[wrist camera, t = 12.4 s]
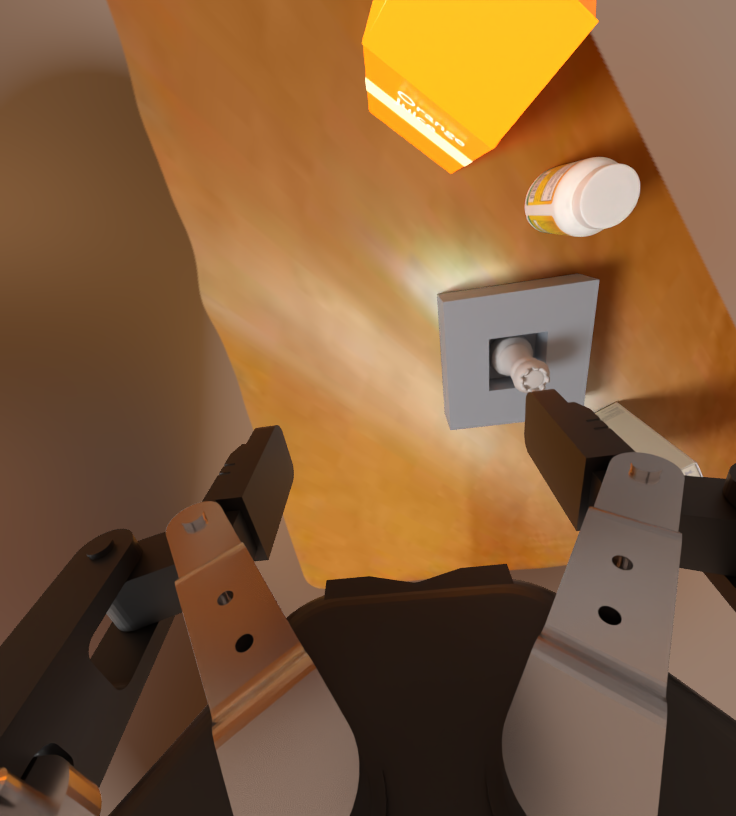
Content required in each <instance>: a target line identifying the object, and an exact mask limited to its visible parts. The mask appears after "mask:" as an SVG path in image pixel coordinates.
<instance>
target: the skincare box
mask: <svg viewBox="0 0 736 816" xmlns="http://www.w3.org/2000/svg"><path fill="white" fill-rule="evenodd" d="M595 414H596V415H597V416H598V417H599V418H600V420H602V421H603V422H604V423H606V424H607V425H608V427H609V428H611V429H612V430H613V431H614V432H615V433H616V434H617V435H618V436H619V437H620V438H622V439H623V440H624V441H625V442H626V443H627V444H628V445H629V446H630V447H631V448H632V449H633V450H634V451H635V452H640V453H647V454H652V455H656V456H659V457H662V458H664V459H667V460H669V461H670V462H672V463H674V464H675V465H677V466H678V467H679V468H680V469H681V470H682V472H683V474H684V475H687V476H697V477H703V476H702V473H701V471H700V469H699V467H698V464H697V462H695V461H694V460H693V459H691V458H690V457H689V456H687V455H686V454H685V453H683V452H682V451H681V450H679V449H678V448H677V447H676V446H674V445H673V444H672V443H670V442H669V441H668V440H666V439H665V438H664V437H662V436H661V435H660V434H659V433H657V432H656V431H654V430H653V429H652V428H651V427H649V426H648V425H647V424H645V423H644V422H643V421H641V420H640V419H639V418H637V417H636V416H635V415H634V414H632V413H631V412H630V411H628V410H627V409H626V408H624V407H623V406H622V405H620V404H619V403H618V402H616V403H614V404H612V405H610V406H608V407H606V408H604V409H602V410H600V411H598V412H596V413H595Z"/></svg>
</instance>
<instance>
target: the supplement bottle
mask: <svg viewBox="0 0 736 816" xmlns="http://www.w3.org/2000/svg"><path fill="white" fill-rule="evenodd" d="M639 194H640V180H639V177H638V175H637V173H636V172H635V170H634V169H633V168H631V167H630V166H628V165H625V164H618V163H617V162H616V161H614V160H612V159H610V158H606V157H593V158H588V159H584V160H580V161H577V162H572V163H569V164H565V165H561V166H557V167H554V168H551V169H549V170H547V171H545V172H544V173H542V174H541V175H540V176H539V177H538V178H537V179H536V180H535V181H534V182H533V184H532V185H531V187H530V189H529V191H528V193H527V196H526V200H525V214H526V217H527V220H528V222H529V223H530V224H531V225H532V226H533V227H534V228H535V229H537V230H538V231H541V232H544V233H551V234H559V235H568V236H575V237H585V236H590V235H593V234H596V233H598V232H600V231H602V230H603V229H606V228H610V227H613V226H615V225H617V224H619V223H620V222H622V221H623V220H624V219H625V218H626V217H627V216H628V215H629V214H630V213H631V212H632V210H633V209H634V207H635V205H636V203H637V201H638V198H639Z"/></svg>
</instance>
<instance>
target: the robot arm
mask: <svg viewBox="0 0 736 816" xmlns="http://www.w3.org/2000/svg"><path fill="white" fill-rule="evenodd" d="M524 436H525V444H526V448H527V451H528V453H529V455H530V457H531V458H532V460H533V461H534V463H535V465H536V466H537V468H538V470H539V471H540V473H541V474H542V476H543V478H544V479H545V481H546V482H547V484H548V486H549V487H550V489H551V491H552V492H553V494H554V495H555V497H556V499H557V500H558V502H559V504H560V505H561V507H562V508H563V510H564V512H565V513H566V515H567V516H568V518H569V520H570V521H571V523H572V525H573V526H574V528H575V529H576V531H580V532H579V535H578V538H577V540H576V543H575V546H574V548H573V551H572V554H571V556H570V559H569V562H568V564H567V567H566V570H565V572H564V575H563V578H562V580H561V583H560V586H559V589H558V591H557V593H555V592H553V591H550V590H548V589H546V588H544V587H541V586H538V585H535V584H532V583H529V582H525V581H521V580H516V579H512V577H511V575H510V572H509V569H508V566H507V564H501V565H490V566H478V567H467V568H460V569H457V570H454V571H451V572H448V573H445V574H442V575H439V576H436V577H433V578H430V579H427V580H424V581H421V582H416V583H411V582H404V581H397V580H390V579H384V578H377V577H370V576H368V577H357V578H346V579H335V580H327V581H326V589H325V595H324V596H322V597H319V598H317V599H314V600H312V601H310V602H308V603H307V604H305V605H303V606H302V607H300V608H298V609H297V610H296V611H295V612H293V613H292V614H290V615H289V616H288V617H287V618H286V617H285V615H284V614H283V612H282V610H281V608H280V606H279V605H278V603H277V601H276V600H275V598H274V596H273V594H272V592H271V591H270V589H269V587H268V585H267V584H266V582H265V580H264V578H263V577H262V575H261V573H260V572H259V569H258V568H257V566H256V564H255V562H254V561H262V560H269V556H270V553H271V550H272V547H273V543H274V540H275V537H276V534H277V531H278V528H279V524H280V521H281V518H282V515H283V512H284V508H285V505H286V502H287V499H288V495H289V492H290V489H291V486H292V483H293V478H294V470H293V464H292V460H291V457H290V454H289V451H288V448H287V445H286V442H285V438H284V435H283V432H282V430H281V428H280V426H278V425H275V426H268V427H260V428H256V429H255V430H254V431H253V433H252V435H251V436H250V439H249V440H248V442H247V444H242V445H241V446H240V447H238V448H237V449H236V450H235V451H234V452H233V453H231V454H230V456H229V458H228V459H227V461H226V463H225V465H224V467H223V468H222V469H221V471H220V473H219V475H218V476H217V478H216V479H215V481H214V483H213V484H212V486H211V488H210V489H209V491H208V493H207V494H206V496H205V498H204V499H203V501H202V502H200V503H196V504H193V505H191V506H189V507H187V508H186V509H184V510H182V511H181V512H179V513H178V514H177V515H176V516H175V517H173V519H172V520H171V521H170V522H169V524H168V525H167V528H166V532H164V533H160V534H157V535H154V536H151V537H149V538H145V539H142V540H140V541H137V540H136V538H135V537H134V535H133V534H132V532H131V531H130V530H127V529H116V530H112V531H109V532H107V533H104V534H102V535H100V536H98V537H96V538H94V539H93V540H91V541H90V542H88V543H87V544H86V545H84V546H83V547H82V548H81V549H80V550H79V551H78V552H77V553H76V554H75V555H74V556H73V558H72V559H71V560H70V561H69V563H68V564H67V565H66V566H65V567H64V569H63V570H62V571H61V572H60V574H59V575H58V576H57V577H56V579H55V580H54V581H53V582H52V583H51V585H50V586H49V587H48V588H47V590H46V591H45V592H44V593H43V594H42V596H41V597H40V598H39V599H38V601H37V602H36V603H35V604H34V606H33V607H32V608H31V609H30V611H29V612H28V613H27V614H26V615H25V617H24V618H23V619H22V620H21V621H20V623H19V624H18V625H17V626H16V628H15V629H14V630H13V631H12V633H11V634H10V635H9V636H8V637H7V639H6V640H5V641H4V642H3V644H2V645H1V646H0V816H100V813H101V806H102V799H101V793H100V790H99V787H100V784H101V782H102V780H103V778H104V775H105V773H106V771H107V769H108V766H109V764H110V762H111V760H112V757H113V755H114V752H115V750H116V748H117V746H118V744H119V741H120V739H121V737H122V735H123V732H124V730H125V728H126V725H127V723H128V721H129V719H130V717H131V714H132V712H133V710H134V707H135V705H136V703H137V701H138V698H139V696H140V694H141V692H142V689H143V687H144V685H145V683H146V680H147V678H148V676H149V673H150V671H151V669H152V667H153V664H154V662H155V660H156V658H157V655H158V653H159V651H160V649H161V646H162V644H163V642H164V639H165V637H166V635H167V633H168V631H169V628H170V626H171V624H172V621H173V619H174V617H175V615H177V614H179V613H182V612H183V616H184V619H185V623H186V626H187V630H188V633H189V637H190V640H191V644H192V648H193V651H194V655H195V658H196V662H197V665H198V669H199V673H200V676H201V680H202V683H203V687H204V690H205V694H206V697H207V701H208V705H207V706H206V707H205V708H204V709H203V711H202V712H201V713H200V714H199V715H198V716H197V717H196V718H195V719H194V721H193V722H192V723H191V724H190V725H189V726H188V727H187V728H186V730H185V731H184V732H183V733H182V734H181V735H180V736H179V737H178V738H177V740H176V741H175V742H174V743H173V744H172V745H171V746H170V747H169V748H168V750H167V751H166V752H165V753H164V754H163V755H162V756H161V757H160V758H159V760H158V761H157V762H156V763H155V764H154V765H153V766H152V767H151V769H150V770H149V771H148V772H147V773H146V774H145V775H144V776H143V777H142V779H141V780H140V781H139V782H138V783H137V784H136V785H135V786H134V788H133V789H132V790H131V791H130V792H129V793H128V794H127V796H125V798H124V799H123V800H122V801H121V802H120V803H119V804H118V805H117V807H116V808H115V809H114V810H113V811H112V812H111V813H110V814H109V815H108V816H736V720H734V719H733V718H731V717H730V716H729V715H727V714H726V713H724V712H723V711H722V710H720V709H719V708H717V707H716V706H715V705H713V704H712V703H711V702H709V701H708V700H706V699H705V698H704V697H702V696H701V695H699V694H698V693H697V692H695V691H694V690H693V689H691V688H690V687H688V686H687V685H686V684H684V683H683V682H681V681H680V680H679V679H677V678H676V677H674V676H673V675H671V674H670V673H669V672H668V668H669V658H670V649H671V639H672V630H673V619H674V611H675V602H676V592H677V583H678V573H679V568H684V569H690V570H696V571H702V572H703V573H704V574H705V575H706V576H707V577H708V579H709V580H710V581H711V582H712V584H713V585H714V586H715V587H716V589H717V590H718V591H719V592H720V593H721V595H722V596H723V597H724V598H725V600H726V601H727V602H728V603H729V605H730V606H731V607H732V608H733V609H734V611H735V612H736V464H734V465H732V466H731V468H730V470H729V472H728V475H727V478H726V479H720V478H708V477H697V476H687V475H684V474H683V472H682V470H681V469H680V468H679V467H678V466H677V465H675V464H674V463H672V462H670V461H669V460H667V459H664V458H662V457H659V456H656V455H652V454H647V453H640V452H635V451H634V450H633V449H632V448H631V447H630V446H629V445H628V444H627V443H626V442H625V441H624V440H623V439H622V438H620V437H619V436H618V435H617V434H616V433H615V432H614V431H613V430H612V429H611V428H609V427H608V425H607V424H606V423H604V422H603V421H602V420H600V418H599V417H598V416H597V415H596V414H595V413H594V412H593V411H592V410H591V409H589V408H587V407H585V406H582V405H580V404H578V403H576V402H569V403H568V402H567V401H566V400H565V399H564V398H563V397H562V396H561V395H560V394H559V393H558V392H557V391H556V390H555V389H548V390H540V391H533V392H528V393H527V395H526V404H525V432H524ZM106 614H107V615H108V616H109V618H110V619H111V620H112V623H111V625H110V627H109V628H108V630H107V632H106V633H105V635H104V637H103V638H102V640H101V642H100V643H99V645H98V647H97V649H96V650H95V652H94V654H93V655H92V657H91V659H90V658H89V652H88V651H89V644H90V641H91V638H92V636H93V634H94V632H95V631H96V629H97V627H98V626H99V624H100V623H101V621H102V619H103V618H104V616H105V615H106Z"/></svg>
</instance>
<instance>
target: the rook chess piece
mask: <svg viewBox="0 0 736 816" xmlns="http://www.w3.org/2000/svg"><path fill="white" fill-rule="evenodd" d="M489 364H490V366H491V367H492V368H493V369H495V370H496V371H497V372H498V373H500V374H503V375H506V376H511V378H512V380H513V383H514V386H515V388H517V389H518V390H519V391H520V392H524V393H528V392H533V391H538V390H544V389H545V388H546V387H545V385H546V383H547V382H548V383H549V382H550V377H549V376H550V370H549V367H548V366H547V365H546V364H545V363H544V362H542V361H539V360H537V359H536V358H533V350H532V347H531V344H530V343H529V342H528V340H527V339H526V338H525V337H524V336H523V335H517V336H510V337H502V338H497V339H496V340H495V341H494V342H493V343H492V344H491V346H490V348H489Z"/></svg>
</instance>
